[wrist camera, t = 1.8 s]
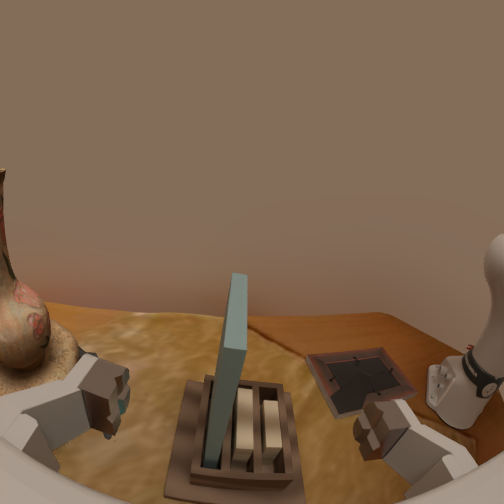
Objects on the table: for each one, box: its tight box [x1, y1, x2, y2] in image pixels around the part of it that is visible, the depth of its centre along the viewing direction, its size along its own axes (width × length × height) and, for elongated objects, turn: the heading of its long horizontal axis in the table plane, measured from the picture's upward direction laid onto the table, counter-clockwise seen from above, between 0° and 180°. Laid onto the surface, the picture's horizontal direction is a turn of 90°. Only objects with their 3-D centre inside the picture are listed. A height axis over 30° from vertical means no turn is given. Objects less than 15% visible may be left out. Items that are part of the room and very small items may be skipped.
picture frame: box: [305, 347, 418, 419], centre depth 50 cm, size 16×2×22 cm
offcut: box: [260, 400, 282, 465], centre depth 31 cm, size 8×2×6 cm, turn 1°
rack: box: [164, 374, 306, 504], centre depth 32 cm, size 22×18×6 cm
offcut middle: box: [230, 388, 254, 469], centre depth 31 cm, size 10×2×7 cm, turn 1°
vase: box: [0, 169, 112, 440], centre depth 24 cm, size 24×22×35 cm
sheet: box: [203, 273, 247, 469], centre depth 28 cm, size 12×2×24 cm, turn 1°
